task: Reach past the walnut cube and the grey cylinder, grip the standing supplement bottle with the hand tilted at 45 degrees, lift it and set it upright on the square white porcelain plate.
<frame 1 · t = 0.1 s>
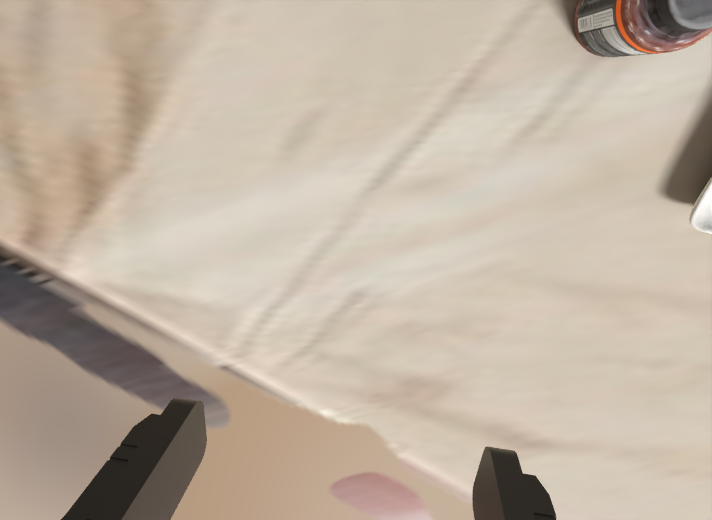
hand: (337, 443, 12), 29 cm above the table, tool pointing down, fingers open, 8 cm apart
supplement bottle: (611, 14, 31), on the table
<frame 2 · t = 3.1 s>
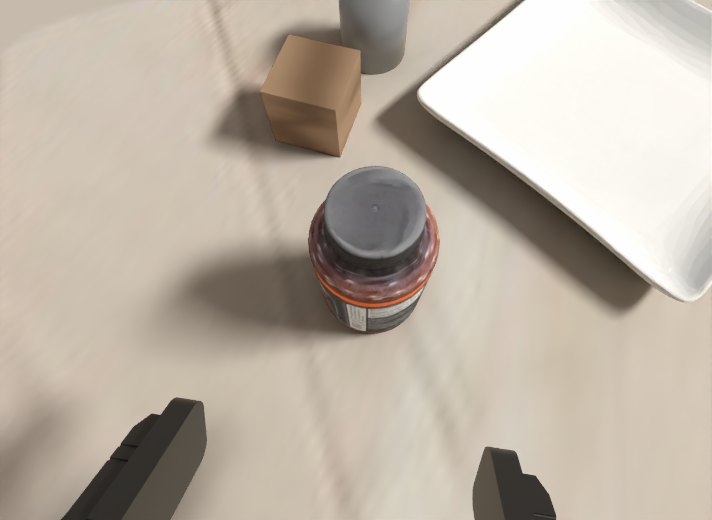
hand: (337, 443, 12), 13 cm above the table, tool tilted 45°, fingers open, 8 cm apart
salad plate: (605, 124, 31), on the table
supplement bottle: (371, 290, 27), on the table
grey cylinder: (373, 50, 33), on the table
walnut cube: (319, 122, 31), on the table
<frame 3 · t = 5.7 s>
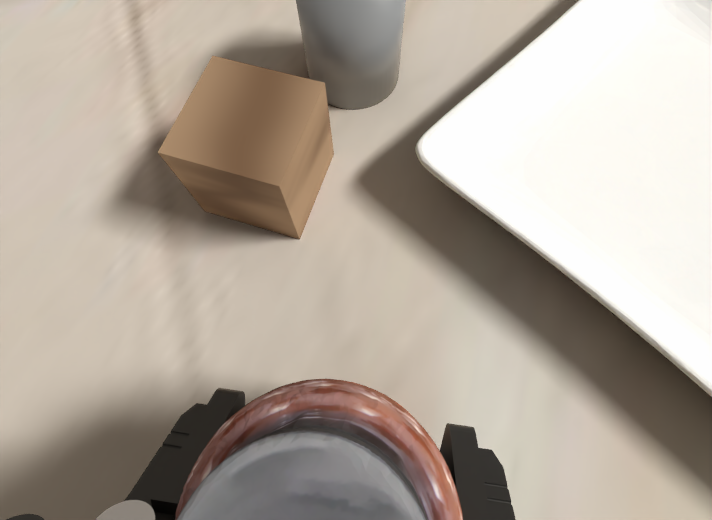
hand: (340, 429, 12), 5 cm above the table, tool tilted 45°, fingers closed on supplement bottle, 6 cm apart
salad plate: (695, 188, 21), on the table
supplement bottle: (341, 471, 16), on the table, touching gripper
grey cylinder: (353, 73, 23), on the table
walnut cube: (271, 182, 21), on the table
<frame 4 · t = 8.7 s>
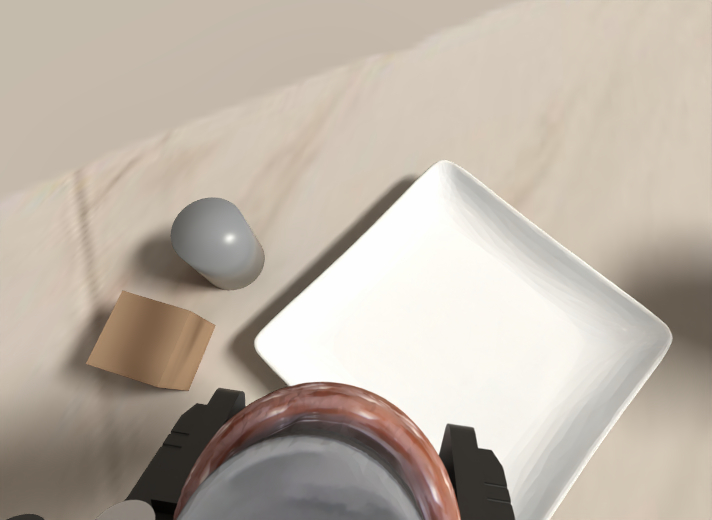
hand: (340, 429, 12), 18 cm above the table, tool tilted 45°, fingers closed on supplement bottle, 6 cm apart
salad plate: (453, 345, 32), on the table
supplement bottle: (340, 473, 16), point 13 cm above the table, touching gripper
grey cylinder: (233, 260, 34), on the table
walnut cube: (172, 347, 32), on the table
when the fingers open (9 cm above the table, at t = 12.0 s): supplement bottle drops 1 cm, resting on salad plate.
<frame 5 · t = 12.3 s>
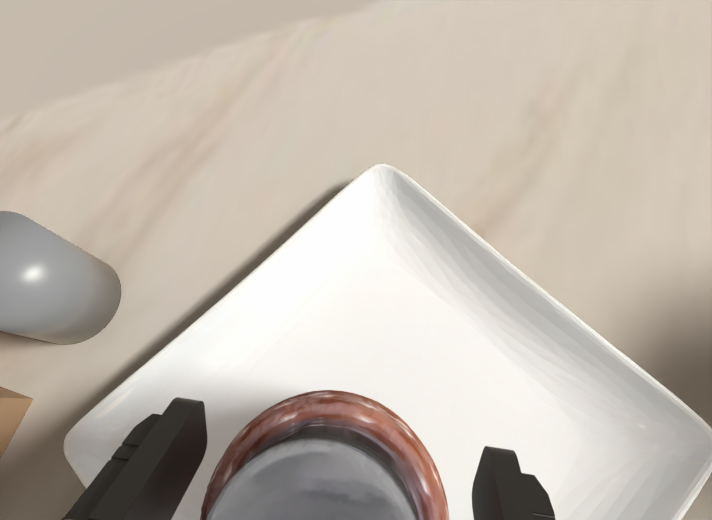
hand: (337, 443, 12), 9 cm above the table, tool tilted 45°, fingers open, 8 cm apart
salad plate: (386, 438, 21), on the table, touching supplement bottle
supplement bottle: (343, 470, 18), point 2 cm above the table, touching salad plate
grey cylinder: (76, 299, 23), on the table
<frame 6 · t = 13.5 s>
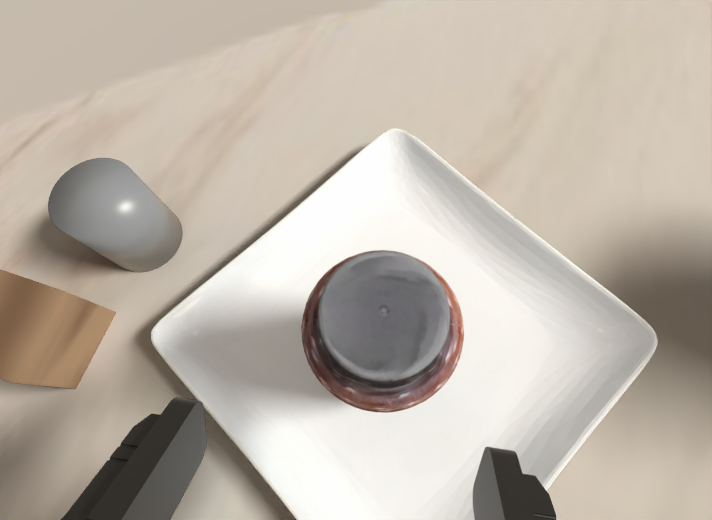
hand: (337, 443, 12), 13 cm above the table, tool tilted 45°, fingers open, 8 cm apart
salad plate: (398, 344, 27), on the table, touching supplement bottle
supplement bottle: (379, 350, 23), point 3 cm above the table, touching salad plate
grey cylinder: (146, 238, 29), on the table
walnut cube: (63, 337, 27), on the table
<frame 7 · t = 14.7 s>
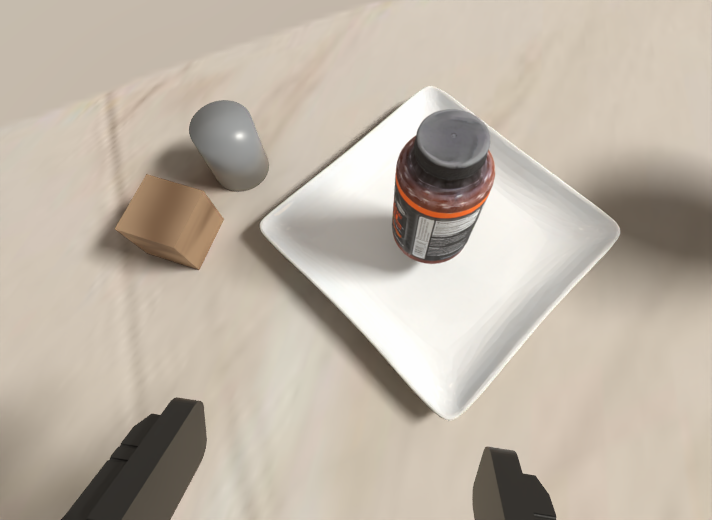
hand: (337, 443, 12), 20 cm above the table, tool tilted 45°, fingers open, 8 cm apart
salad plate: (432, 243, 36), on the table, touching supplement bottle
supplement bottle: (428, 233, 33), point 3 cm above the table, touching salad plate
grey cylinder: (242, 167, 39), on the table
walnut cube: (186, 236, 36), on the table
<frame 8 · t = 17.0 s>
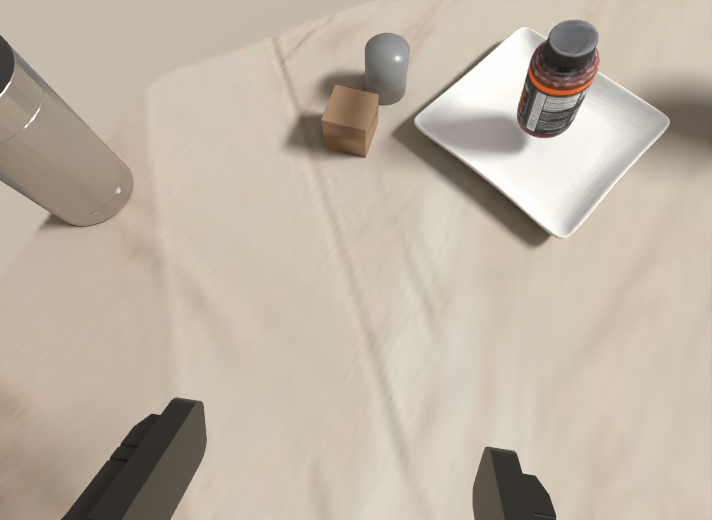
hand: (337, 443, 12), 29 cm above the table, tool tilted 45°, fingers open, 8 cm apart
salad plate: (530, 138, 50), on the table, touching supplement bottle
supplement bottle: (543, 118, 46), point 3 cm above the table, touching salad plate
grey cylinder: (385, 89, 52), on the table
walnut cube: (351, 135, 50), on the table
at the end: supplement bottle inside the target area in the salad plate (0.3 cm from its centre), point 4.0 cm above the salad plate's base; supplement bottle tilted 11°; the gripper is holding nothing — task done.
